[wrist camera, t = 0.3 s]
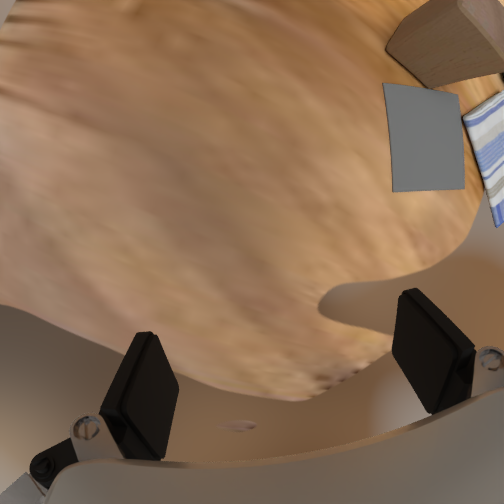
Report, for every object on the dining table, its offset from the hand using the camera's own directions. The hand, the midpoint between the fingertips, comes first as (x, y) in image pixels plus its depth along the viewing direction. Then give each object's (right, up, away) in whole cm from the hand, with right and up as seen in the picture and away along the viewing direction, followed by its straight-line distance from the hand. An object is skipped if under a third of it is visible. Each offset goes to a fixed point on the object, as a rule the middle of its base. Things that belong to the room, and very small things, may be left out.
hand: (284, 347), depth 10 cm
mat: (+27, +22, +26) cm, 43 cm away
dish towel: (+47, +22, +26) cm, 58 cm away
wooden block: (+25, +36, +21) cm, 48 cm away
